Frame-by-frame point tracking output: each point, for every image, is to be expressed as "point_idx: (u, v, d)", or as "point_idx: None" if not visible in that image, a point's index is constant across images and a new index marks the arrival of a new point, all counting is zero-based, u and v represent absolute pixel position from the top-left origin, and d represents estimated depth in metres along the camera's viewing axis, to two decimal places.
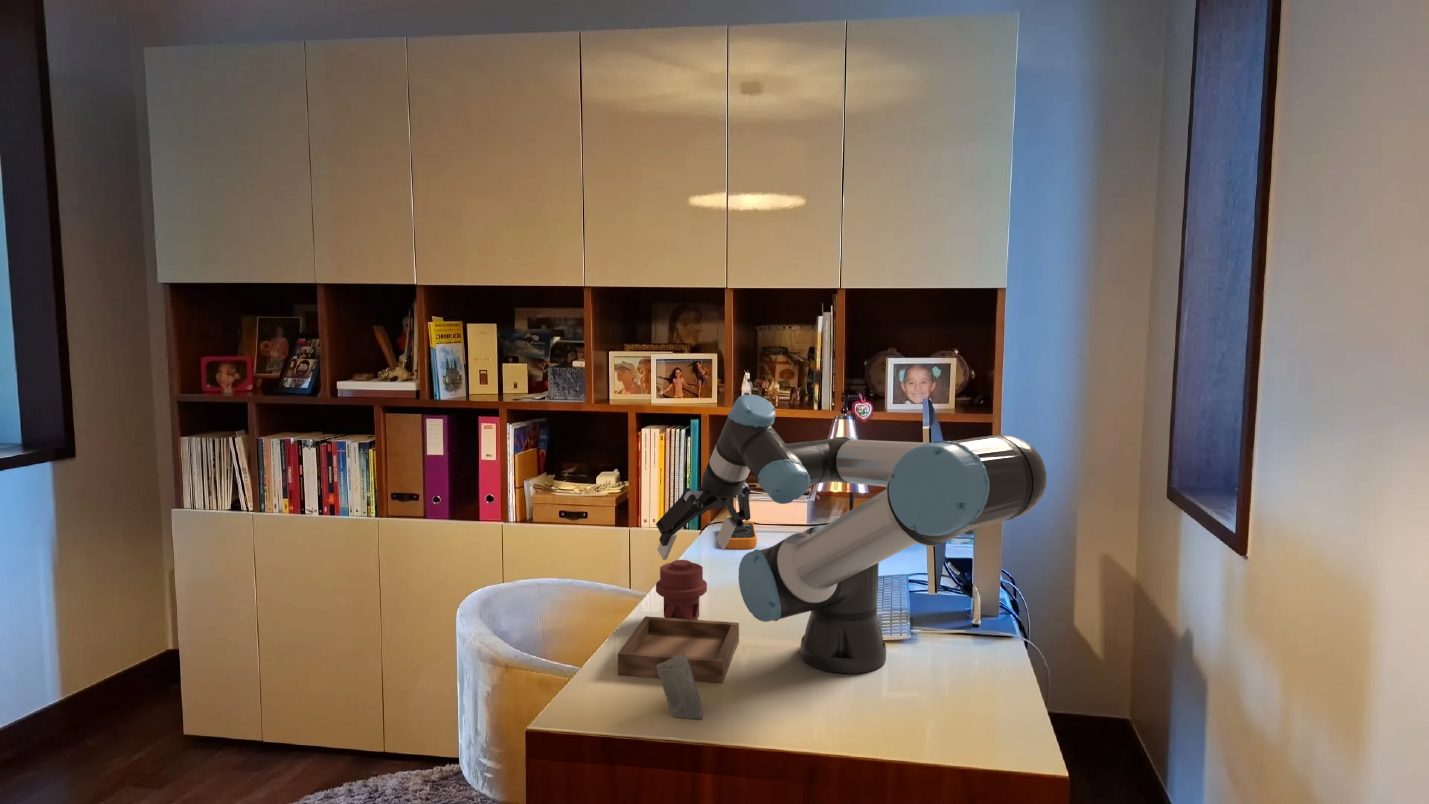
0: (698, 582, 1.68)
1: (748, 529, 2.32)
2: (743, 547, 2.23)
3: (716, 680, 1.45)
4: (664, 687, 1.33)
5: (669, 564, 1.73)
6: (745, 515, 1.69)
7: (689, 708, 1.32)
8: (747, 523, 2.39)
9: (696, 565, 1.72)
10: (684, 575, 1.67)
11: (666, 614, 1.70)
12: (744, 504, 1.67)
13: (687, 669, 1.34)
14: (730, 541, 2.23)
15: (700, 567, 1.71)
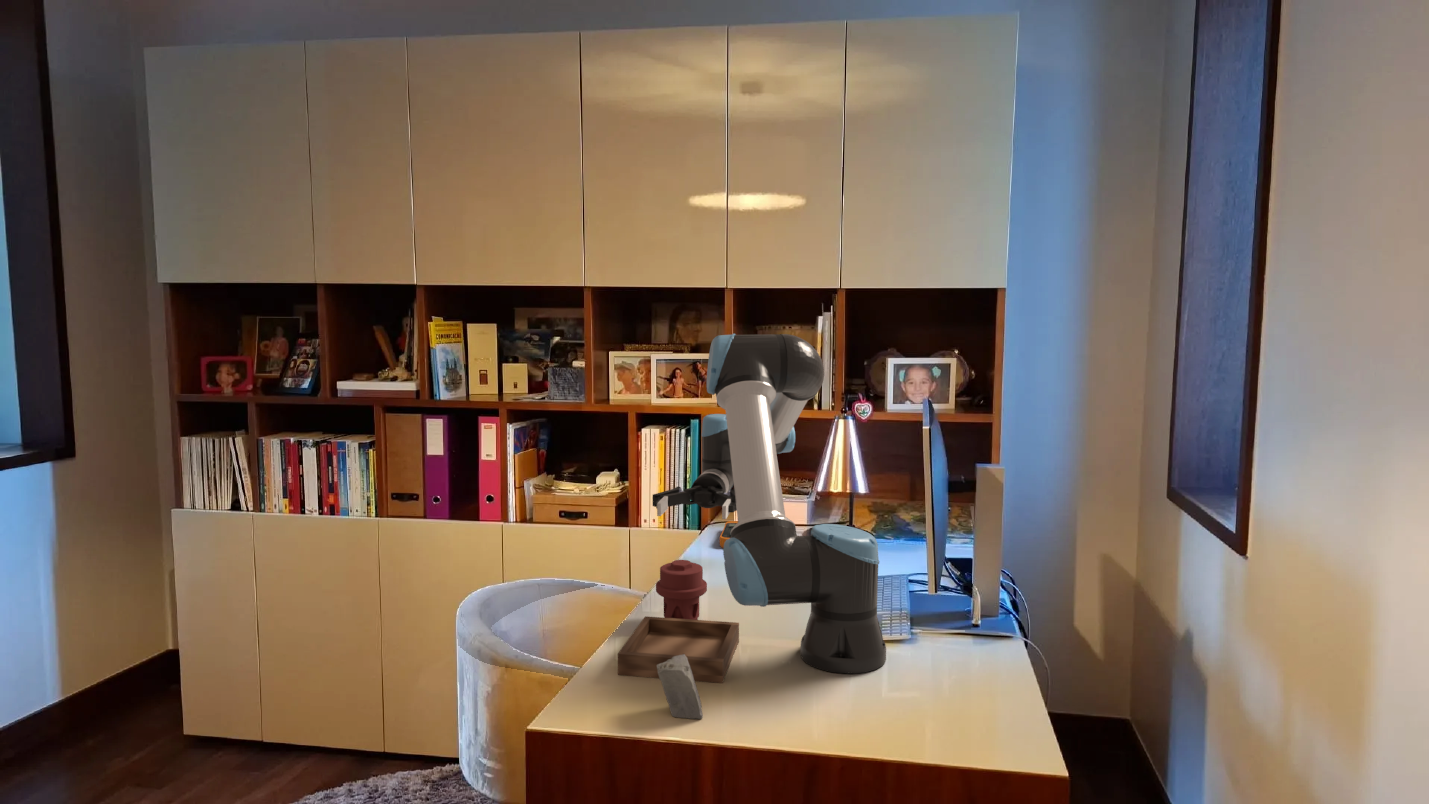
0: (698, 582, 1.68)
1: None
2: None
3: (716, 680, 1.45)
4: (664, 687, 1.33)
5: (669, 564, 1.73)
6: None
7: (689, 708, 1.32)
8: None
9: (696, 565, 1.72)
10: (684, 575, 1.67)
11: (666, 614, 1.70)
12: (733, 493, 1.90)
13: (687, 669, 1.34)
14: None
15: (700, 567, 1.71)
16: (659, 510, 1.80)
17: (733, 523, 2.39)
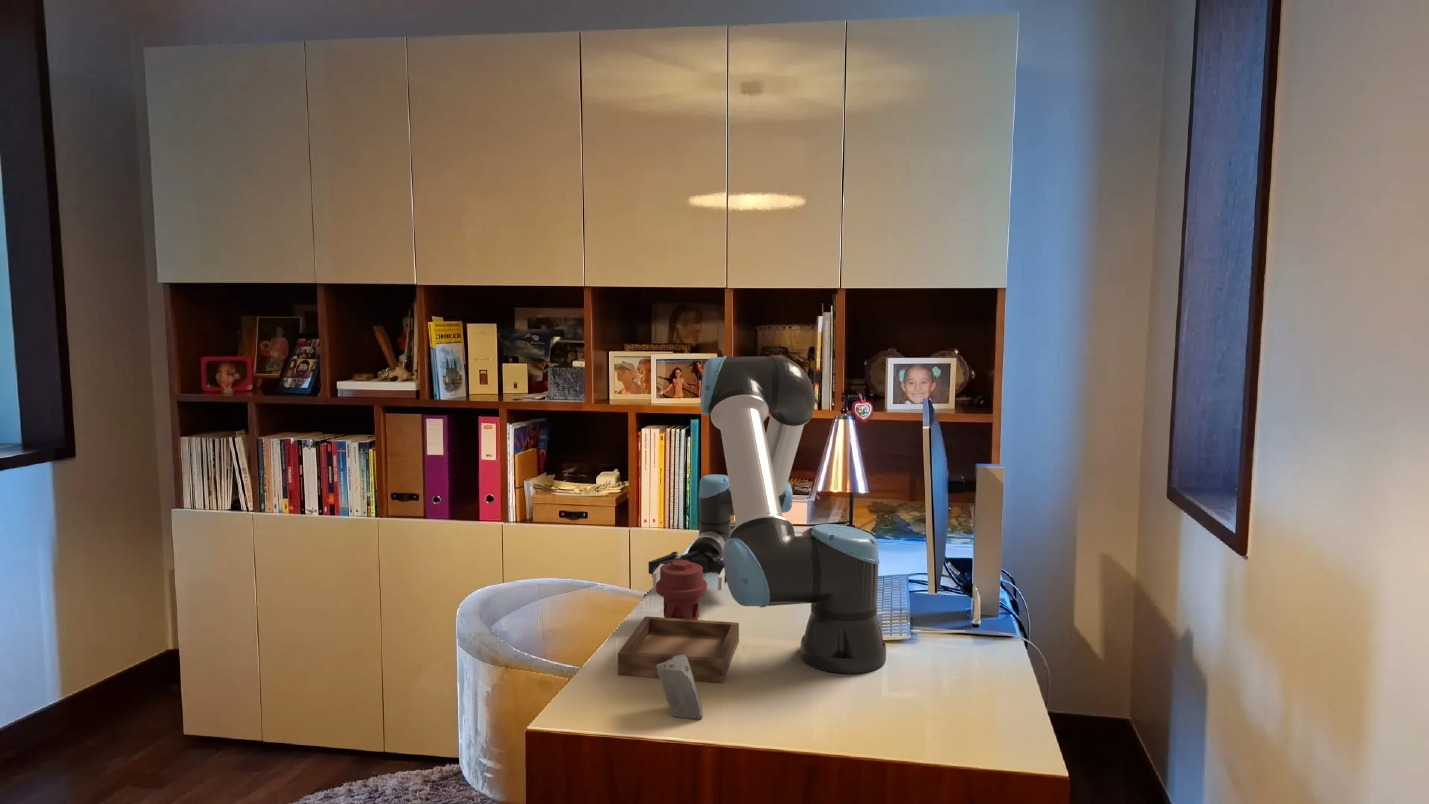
0: (698, 582, 1.68)
1: None
2: None
3: (716, 680, 1.45)
4: (664, 687, 1.33)
5: (669, 564, 1.73)
6: None
7: (689, 708, 1.32)
8: None
9: (696, 565, 1.72)
10: (684, 575, 1.67)
11: (666, 614, 1.70)
12: None
13: (687, 669, 1.34)
14: None
15: (700, 567, 1.71)
16: (655, 580, 1.79)
17: (732, 523, 2.39)
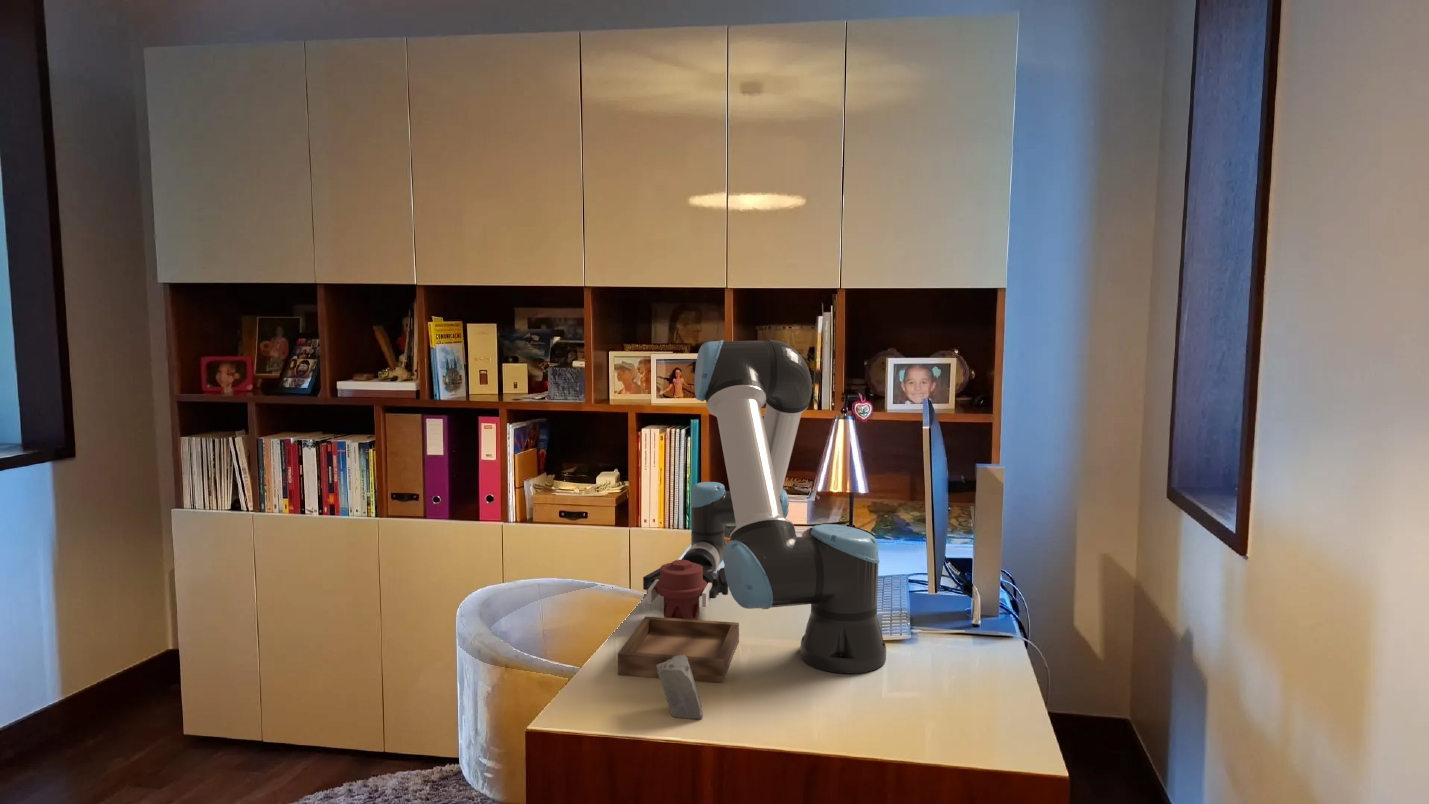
0: (698, 582, 1.68)
1: None
2: None
3: (716, 680, 1.45)
4: (664, 687, 1.33)
5: (669, 564, 1.73)
6: (722, 580, 1.74)
7: (689, 708, 1.32)
8: None
9: (696, 565, 1.72)
10: (684, 575, 1.67)
11: (666, 614, 1.70)
12: (720, 574, 1.78)
13: (687, 669, 1.34)
14: (728, 541, 2.23)
15: (700, 567, 1.71)
16: (650, 597, 1.68)
17: None
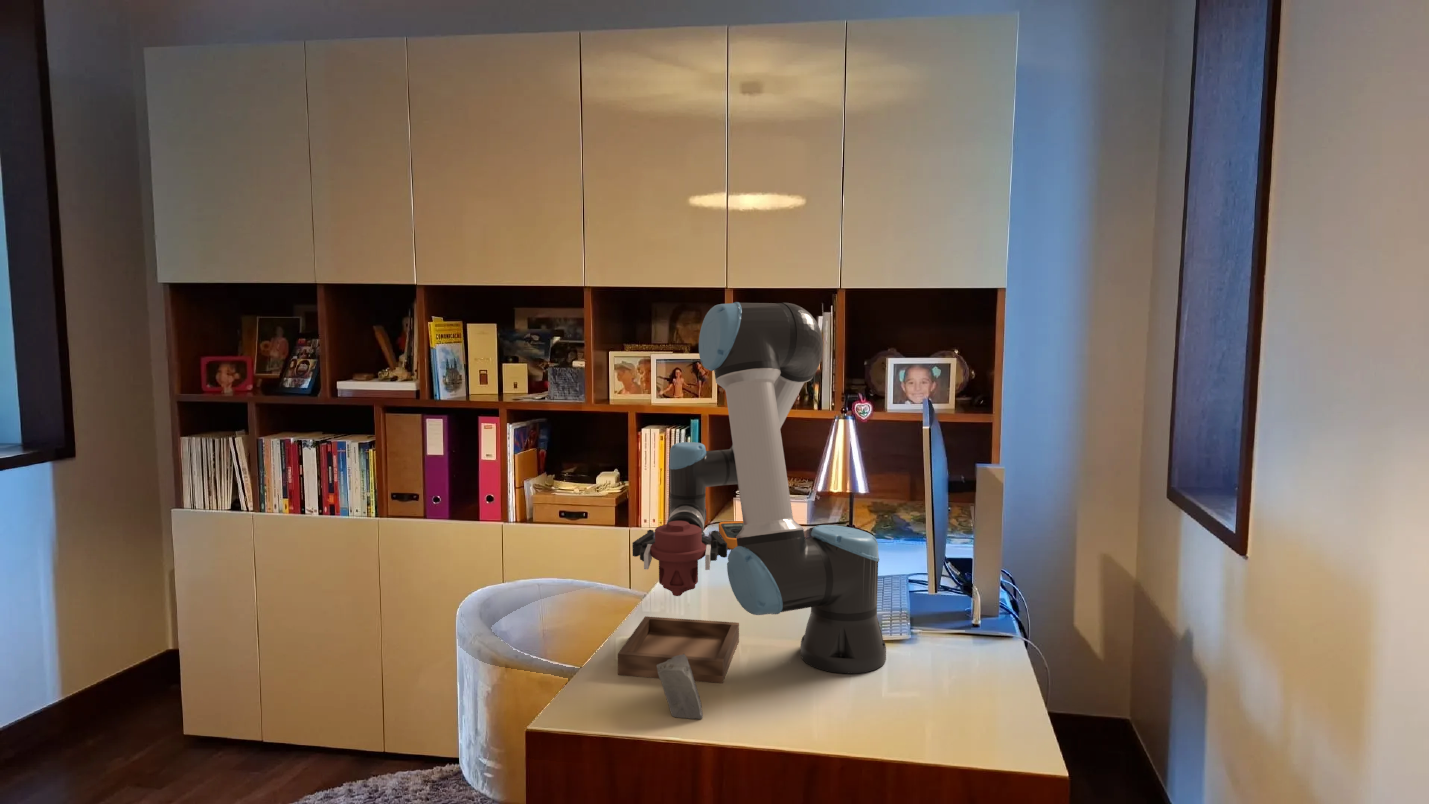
0: (698, 543, 1.54)
1: None
2: None
3: (716, 680, 1.45)
4: (664, 687, 1.33)
5: (663, 526, 1.57)
6: (719, 541, 1.61)
7: (689, 708, 1.32)
8: None
9: (693, 526, 1.57)
10: (684, 536, 1.52)
11: (663, 580, 1.54)
12: (714, 536, 1.64)
13: (687, 669, 1.34)
14: (733, 541, 2.23)
15: (698, 527, 1.56)
16: (646, 562, 1.52)
17: (727, 523, 2.38)
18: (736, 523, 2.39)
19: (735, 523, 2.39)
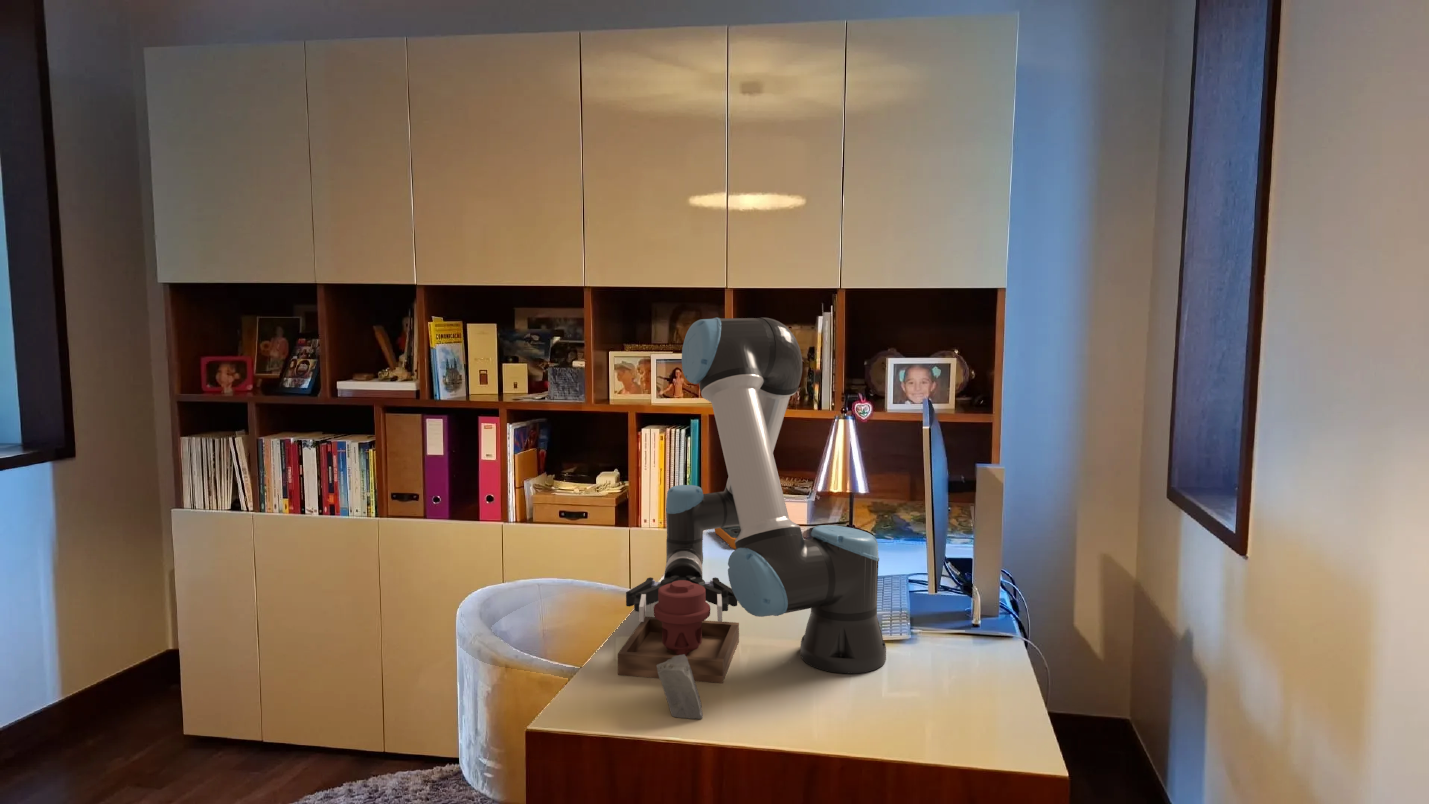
0: (703, 604, 1.53)
1: None
2: None
3: (716, 680, 1.45)
4: (664, 687, 1.33)
5: (666, 586, 1.55)
6: (728, 590, 1.60)
7: (689, 708, 1.32)
8: None
9: (696, 585, 1.56)
10: (690, 598, 1.50)
11: (668, 642, 1.52)
12: (719, 584, 1.63)
13: (687, 669, 1.34)
14: None
15: (702, 587, 1.55)
16: (641, 615, 1.51)
17: None
18: None
19: None
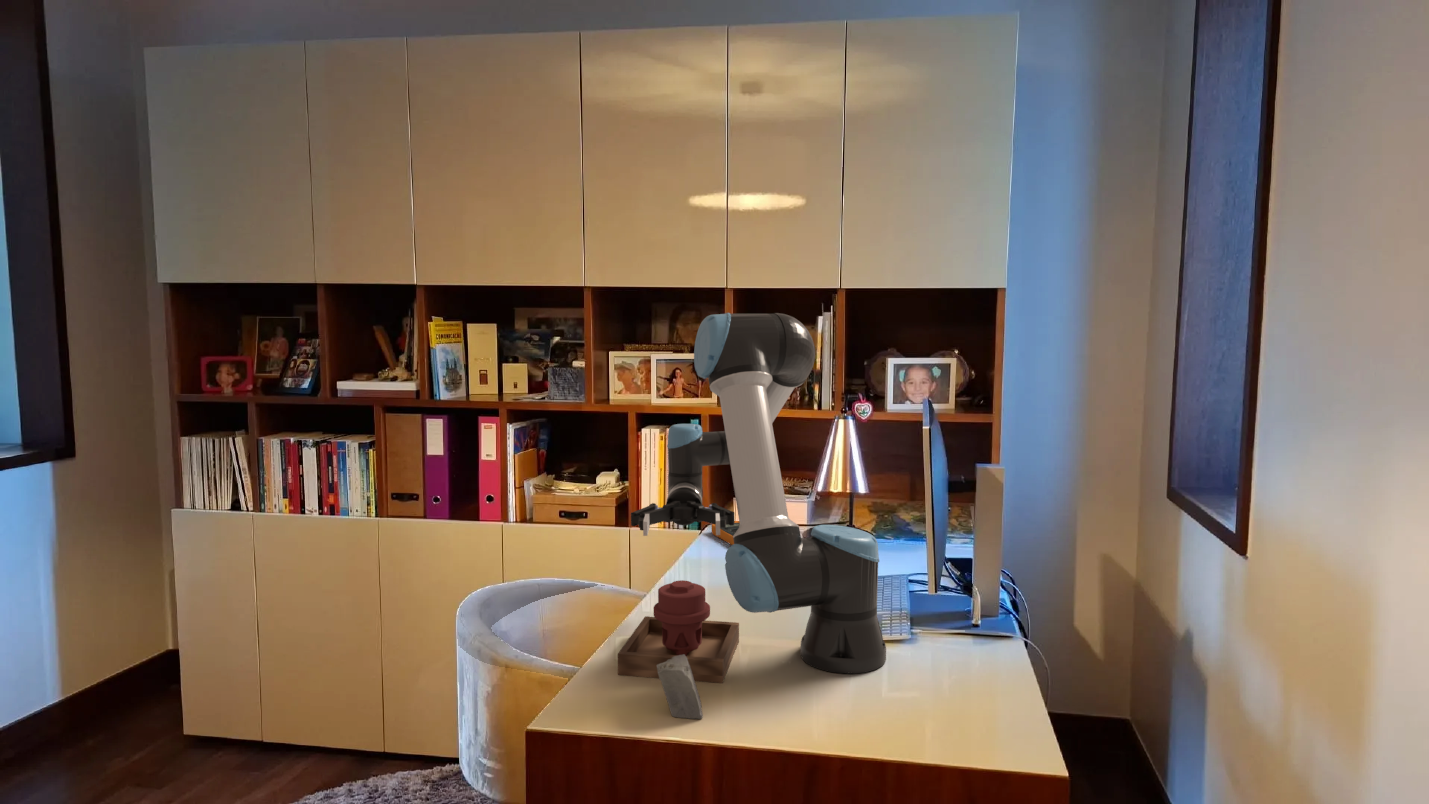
0: (703, 604, 1.53)
1: None
2: None
3: (716, 680, 1.45)
4: (664, 687, 1.33)
5: (666, 586, 1.55)
6: (726, 511, 1.72)
7: (689, 708, 1.32)
8: (735, 523, 2.39)
9: (696, 585, 1.56)
10: (689, 598, 1.50)
11: (667, 642, 1.52)
12: (717, 507, 1.75)
13: (687, 669, 1.34)
14: None
15: (702, 587, 1.55)
16: (645, 529, 1.63)
17: None
18: None
19: None
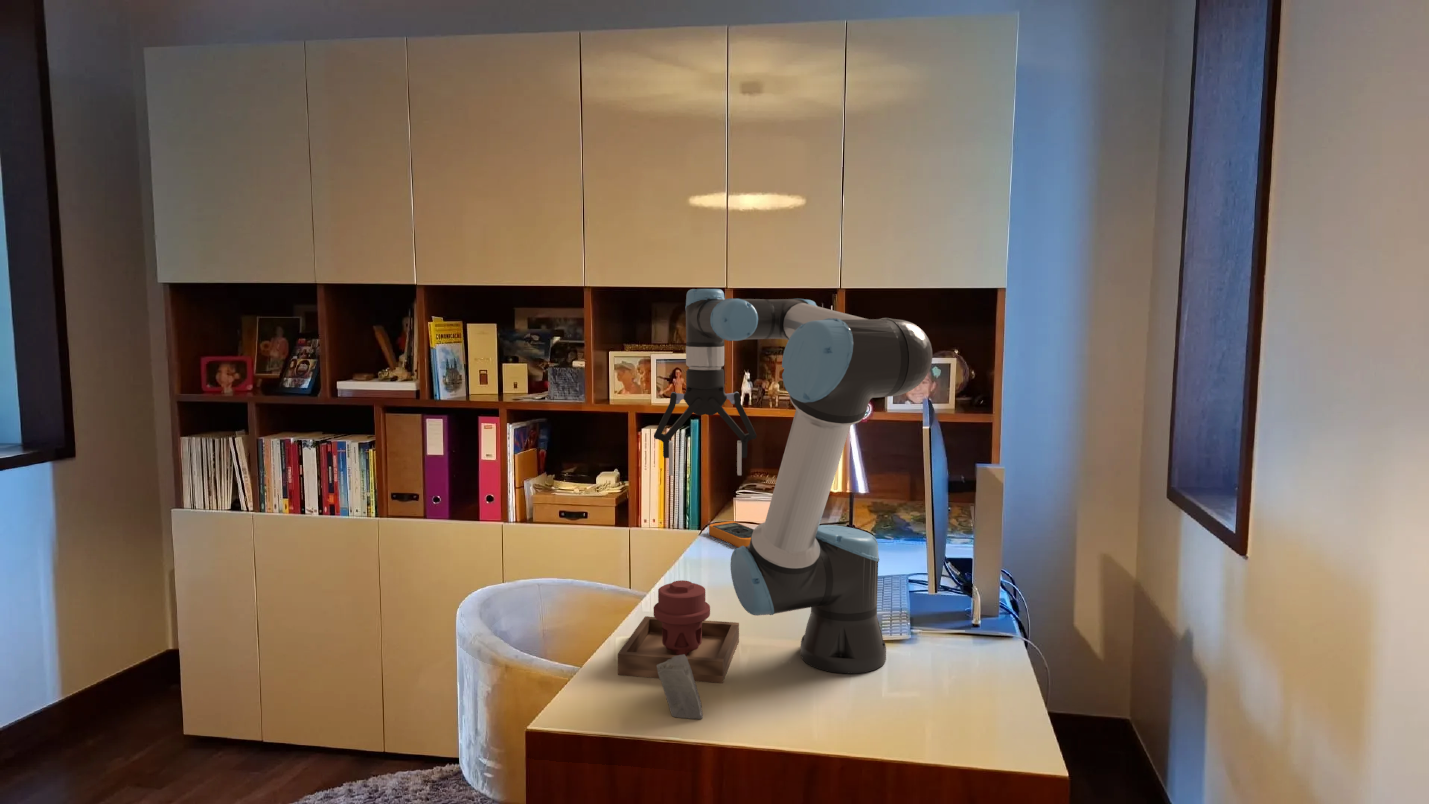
0: (703, 604, 1.53)
1: (744, 528, 2.34)
2: None
3: (716, 680, 1.45)
4: (664, 687, 1.33)
5: (666, 586, 1.55)
6: (748, 430, 1.72)
7: (689, 708, 1.32)
8: (731, 523, 2.39)
9: (696, 585, 1.56)
10: (689, 598, 1.50)
11: (667, 642, 1.52)
12: (740, 414, 1.72)
13: (687, 669, 1.34)
14: (749, 541, 2.23)
15: (702, 587, 1.55)
16: None
17: (718, 525, 2.36)
18: (725, 524, 2.38)
19: (725, 524, 2.38)
